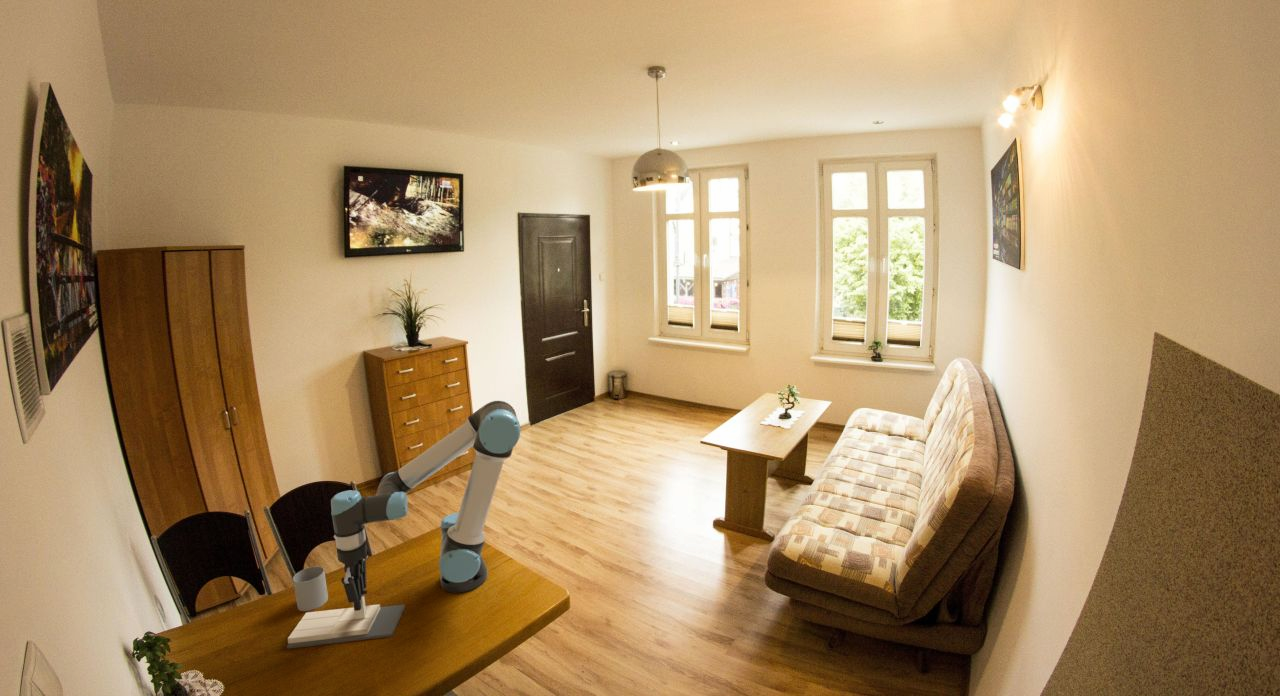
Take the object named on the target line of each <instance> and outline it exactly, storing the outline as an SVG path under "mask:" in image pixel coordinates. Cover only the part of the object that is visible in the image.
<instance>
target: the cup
mask: <svg viewBox="0 0 1280 696" xmlns="http://www.w3.org/2000/svg"><path fill="white" fill-rule="evenodd" d="M292 580H293V587H294V594H295V599H296V606H297V610H298V611H301V612H311V611H313V610H317V609H318V608H320V607H322V606H323V605H324V604H326V602H328V600H329V594H328V588H327V581H326V573H325V569H324V567H323V566H320V565H316V566H314V565H313V566H310V567H306V568H304V569H302V570H300V571H298V572H297V573H296V574H294V576H293V577H292Z"/></svg>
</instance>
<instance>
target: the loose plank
mask: <svg viewBox="0 0 1280 696" xmlns="http://www.w3.org/2000/svg"><path fill="white" fill-rule="evenodd" d="M365 606H366V614H367V615H366V617H365V618H361V619H355V615H354V608H353V606H352V607H347V608H345V610H344V611H343V613H342V615H341V616H340V618H339V620H338V621H337V623H336V624H335V626H334V628H333V629H332V631H331V633H330V638H339V637H347V636H355V635H363V634H368V632H369V630H370V628H371V626H372V624H373V622H374V620H375V618H376V616H377V615H378V613H379V611H380V607H381V604H380V603H379V604H377V603H376V604H371V605H370V604H369V605H365Z"/></svg>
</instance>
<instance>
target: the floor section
mask: <svg viewBox="0 0 1280 696" xmlns="http://www.w3.org/2000/svg"><path fill="white" fill-rule="evenodd" d="M405 608H406V605H405V604H397V605H387V606H380V611H379V613H378V615H377V616H376V618H375V620H374V622H373V624H372V626H371V628H370V630H369V632H368V634H363V635H355V636H347V637H339V638H330V633H331V631H332V629H333V628H334V626H335V624H336V623H337V621H338V620H339V618H340V616H341V615H342V613H343V611H344V610H345V608H337V609H336V608H335V609H327V610H319V611H306V612H305V614H304V615H303V616H302V618H301V619H300V621H299V622H298V623H297V625H296V626H295V628H294V629H293V630H292V632H291V633H290V635H289V636H288V637H287V643H288V644H287V645H286V649H288V650H289V649H294V648H295V649H296V648H303V647H304V648H305V647H306V648H307V647H313V646H322V645H328V644H329V645H330V644H338V643H346V642H355V641H362V640H371V639H380V638H388V637H389V638H391V637H393V636H394V633H395V631H396V628H397V626H398V625H399V621H400V619H401V617H402V614H403V612H404V610H405Z"/></svg>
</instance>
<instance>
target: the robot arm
mask: <svg viewBox="0 0 1280 696" xmlns="http://www.w3.org/2000/svg"><path fill="white" fill-rule="evenodd" d="M465 421H466V422H465V423H463V424H462V425H460V426H459V427H457V428H455V430H453V431H452V432H450V433H449V434H447V435H446V436H444V437H443V438H441V439H440V440H438V441H437V442H436V443H434V444H433V445H431V447H429V448H428V449H426V450H425V451H423V452H422V453H420V454H419V455H417V456H416V457H415V458H413V459H412V460H409V462H408V463H406V464H405V465H403V466H402V467H400V468H399V469H397V470H396V471H391V472H388V473H387V474H385V475H384V476H383V478H381V480H380V482H379V484H378V487H377V490H376V493H375V495H372V496H371V495H370V496H363V497H362V495H361V492H360V491H358V490H355V489H354V490H351V489H349V490H344V491H341V492H337V493H336V494H335V495H334V496H333V497H332V498H331V499H330V507H331V513H330V514H331V518H332V519H331V520H332V524H333V530H334V535H333V538H334V539H335V547H336V553H337V560H338V561H339V563H341V564H343V565H344V567H343V569H344V570H343V571H344V572H345V576H344V577H342V578H341V580H340V581H341V584H342V585H343V588H344V591H345V594H346V598H347V601H348V603H349V604H350V603H352V607H353V608H354V615H355V619H361V618H365V617H366V615H367V614H366V606H367V605H366V599H365V595H367V594H368V590H366V589H367V586H368V585H367V557H368V556H367V553H368V547H367V541H366V539H367V537H366V529H365V525H367V524H372V523H378V522H386V521H387V522H388V521H394V520H395V521H396V520H397V519H401V518H402V519H403V518H405V517H406V516H407V515H408V513H409V512H408V511H409V510H408V509H409V503H408V492H410V491H412V490H413V489H414V488H416V487H417V486H419V485H420V484H422V483H423V482H425V480H427V479H428V478H429V477H431V476H433V475H434V474H435V473H437V472H438V471H440V470H441V469H442V468H444V467H445V466H446V465H448V464H449V463H451V462H452V461H454V460H455V459H457V458H458V457H459V456H461V455H462V454H464V453H466V452H467V451H468V450H470V448H472V449H473V450H474V452H475V456H474V461H473V463H472V467H471V470H470V473H469V476H468V480H467V483H466V487H465V490H464V493H463V496H462V499H461V503H460V506H459V509H458V512H453V513H451V514H448V515H446V516H445V517H443V518H442V519H441V521H440V530H441V545H440V553H439V554H440V555H439V561H438V568H439V572H440V577H439V578H440V586H441V588H442V589H443V590H444V591H446V592H448V593H454V594H455V593H456V594H457V593H465V592H469V591H472V590H474V589H476V588H478V587H480V586H481V585H482V584H483V583H485V581H486V580H487V578H488V575H489V573H488V567H487V564H486V562H485V560H484V559H483V555H482V551H483V548H484V545H485V542H486V539H487V536H486V533H485V532H484V527H485V524H486V521H487V518H488V515H489V512H490V508H491V505H492V501H493V498H494V495H495V491H496V488H497V484H498V481H499V478H500V477H501V473H502V469H503V465H504V462H505V461H506V460H508V459H509V458H511V456H512V453H513V450H514V448H515V446H517V443H518V442H519V439H520V437H521V425H520V421H519V420H518V417H517V413H516V411H515V409H514V407H513V406H512V405H511V404H510V403H508V402H506V401H504V400H503V401H502V400H493V401H489V402H487V403H486V404H484V405H483V406H481V407H479V409H478V410H476V411H475V412H473V413H472V414H470V415H469V416H467V417H466V420H465Z"/></svg>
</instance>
